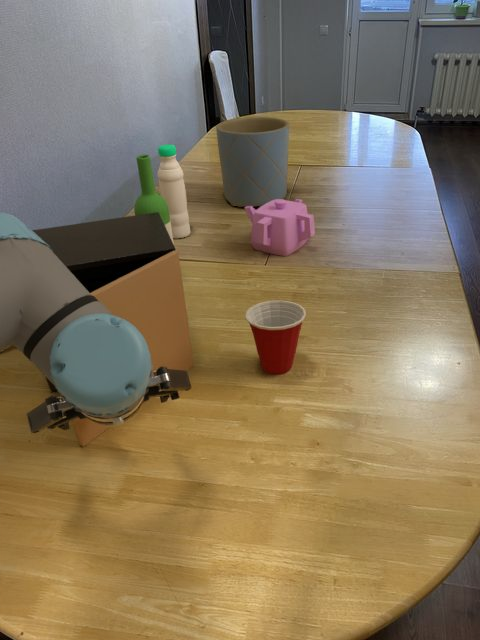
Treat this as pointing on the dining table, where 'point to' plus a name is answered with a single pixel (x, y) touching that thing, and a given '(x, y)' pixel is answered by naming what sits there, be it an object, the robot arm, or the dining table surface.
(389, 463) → the dining table surface
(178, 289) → the freezer door
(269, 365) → the plastic cup
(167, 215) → the wine bottle
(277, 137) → the planter
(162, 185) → the water bottle
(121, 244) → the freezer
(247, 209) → the teakettle
